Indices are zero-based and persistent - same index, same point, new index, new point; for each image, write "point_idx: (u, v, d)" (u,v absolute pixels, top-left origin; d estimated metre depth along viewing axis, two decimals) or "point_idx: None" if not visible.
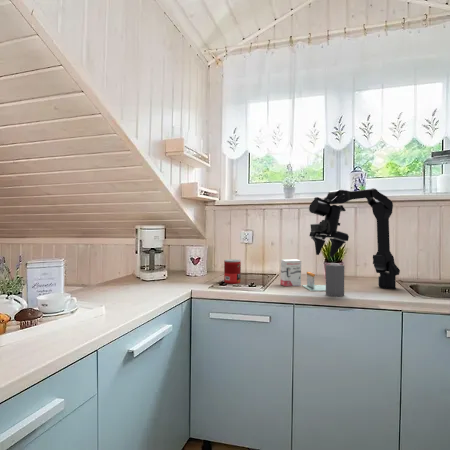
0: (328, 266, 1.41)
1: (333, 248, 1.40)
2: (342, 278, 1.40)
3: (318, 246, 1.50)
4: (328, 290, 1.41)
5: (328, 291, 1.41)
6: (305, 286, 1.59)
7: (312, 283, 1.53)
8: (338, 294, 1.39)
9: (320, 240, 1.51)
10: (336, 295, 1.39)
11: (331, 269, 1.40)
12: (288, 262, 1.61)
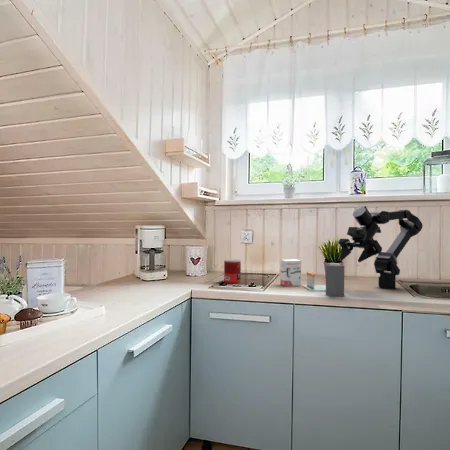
0: (328, 266, 1.41)
1: (364, 255, 1.42)
2: (342, 278, 1.40)
3: (344, 252, 1.51)
4: (328, 290, 1.41)
5: (328, 291, 1.41)
6: (305, 286, 1.59)
7: (312, 283, 1.53)
8: (338, 294, 1.39)
9: (347, 249, 1.53)
10: (336, 295, 1.39)
11: (331, 269, 1.40)
12: (288, 262, 1.61)
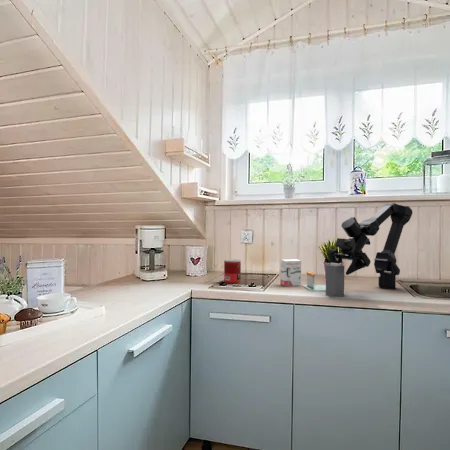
0: (328, 266, 1.41)
1: (352, 267, 1.38)
2: (342, 278, 1.40)
3: None
4: (328, 290, 1.41)
5: (328, 291, 1.41)
6: (305, 286, 1.59)
7: (312, 283, 1.53)
8: (338, 294, 1.39)
9: (336, 260, 1.49)
10: (336, 295, 1.39)
11: (331, 269, 1.40)
12: (288, 262, 1.61)
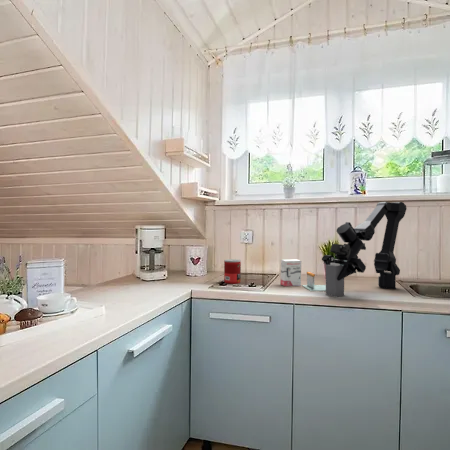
0: (328, 266, 1.41)
1: (343, 273, 1.39)
2: None
3: None
4: (328, 290, 1.41)
5: (328, 291, 1.41)
6: (305, 286, 1.59)
7: (312, 283, 1.53)
8: (338, 294, 1.39)
9: None
10: (336, 295, 1.39)
11: (331, 269, 1.40)
12: (288, 262, 1.61)
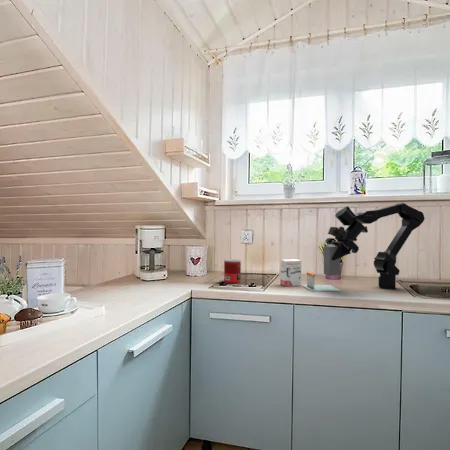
0: (325, 247, 1.53)
1: (337, 253, 1.49)
2: (338, 258, 1.50)
3: None
4: (325, 269, 1.53)
5: (325, 270, 1.53)
6: (305, 286, 1.59)
7: (312, 283, 1.53)
8: (333, 273, 1.50)
9: None
10: (331, 274, 1.49)
11: (326, 250, 1.51)
12: (288, 262, 1.61)
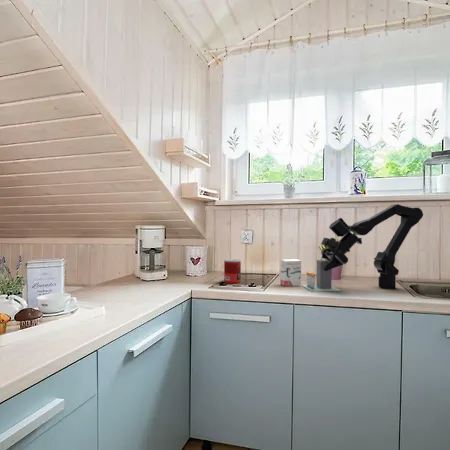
0: (317, 261, 1.57)
1: (329, 264, 1.51)
2: (329, 272, 1.54)
3: None
4: (317, 282, 1.57)
5: (317, 283, 1.57)
6: (305, 286, 1.59)
7: (312, 283, 1.53)
8: (324, 286, 1.54)
9: (327, 258, 1.62)
10: (321, 287, 1.54)
11: (318, 264, 1.56)
12: (288, 262, 1.61)
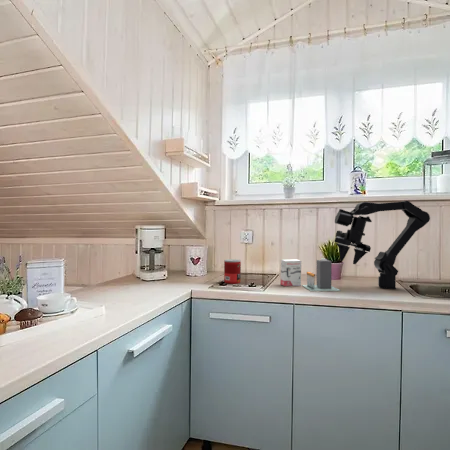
0: (317, 261, 1.57)
1: (340, 253, 1.57)
2: (329, 272, 1.54)
3: (355, 256, 1.62)
4: (317, 282, 1.57)
5: (317, 283, 1.57)
6: (305, 286, 1.59)
7: (312, 283, 1.53)
8: (324, 286, 1.54)
9: (359, 251, 1.61)
10: (321, 287, 1.54)
11: (318, 264, 1.56)
12: (288, 262, 1.61)
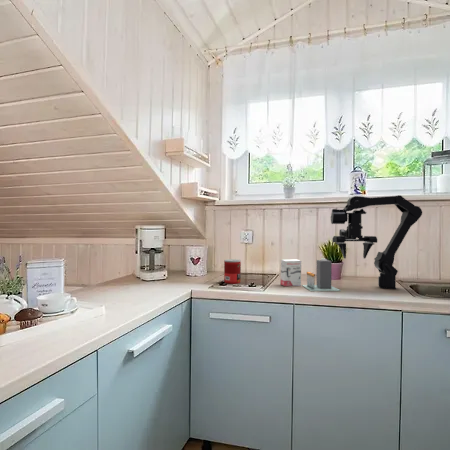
0: (317, 261, 1.57)
1: (341, 251, 1.60)
2: (329, 272, 1.54)
3: (364, 250, 1.60)
4: (317, 282, 1.57)
5: (317, 283, 1.57)
6: (305, 286, 1.59)
7: (312, 283, 1.53)
8: (324, 286, 1.54)
9: (365, 244, 1.60)
10: (321, 287, 1.54)
11: (318, 264, 1.56)
12: (288, 262, 1.61)
